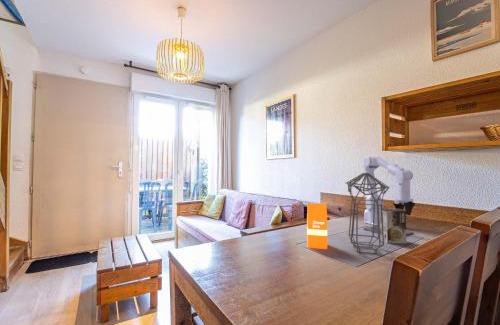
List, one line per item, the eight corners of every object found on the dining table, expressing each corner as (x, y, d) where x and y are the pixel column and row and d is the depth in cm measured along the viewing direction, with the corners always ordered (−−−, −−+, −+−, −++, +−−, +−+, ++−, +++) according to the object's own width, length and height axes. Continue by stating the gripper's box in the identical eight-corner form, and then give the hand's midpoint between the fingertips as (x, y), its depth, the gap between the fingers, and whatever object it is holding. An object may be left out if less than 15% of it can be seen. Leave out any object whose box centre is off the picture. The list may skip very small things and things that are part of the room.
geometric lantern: (379, 246, 112) (380, 172, 112) (389, 259, 97) (391, 174, 96) (343, 242, 116) (345, 171, 116) (348, 255, 101) (349, 173, 101)
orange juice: (327, 249, 108) (327, 205, 108) (307, 247, 110) (307, 204, 110) (325, 243, 116) (325, 202, 116) (306, 242, 117) (306, 201, 118)
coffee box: (399, 239, 122) (399, 208, 122) (406, 244, 115) (406, 210, 115) (381, 239, 123) (381, 208, 123) (387, 243, 116) (386, 210, 116)
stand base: (363, 229, 141) (363, 221, 141) (383, 226, 149) (383, 218, 149) (393, 237, 125) (393, 228, 125) (413, 233, 133) (413, 225, 133)
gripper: (403, 192, 127) (403, 218, 127) (419, 191, 134) (419, 215, 134) (390, 191, 134) (390, 215, 134) (406, 190, 140) (406, 213, 140)
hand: (404, 215), depth 134 cm, fingers open, 7 cm apart
